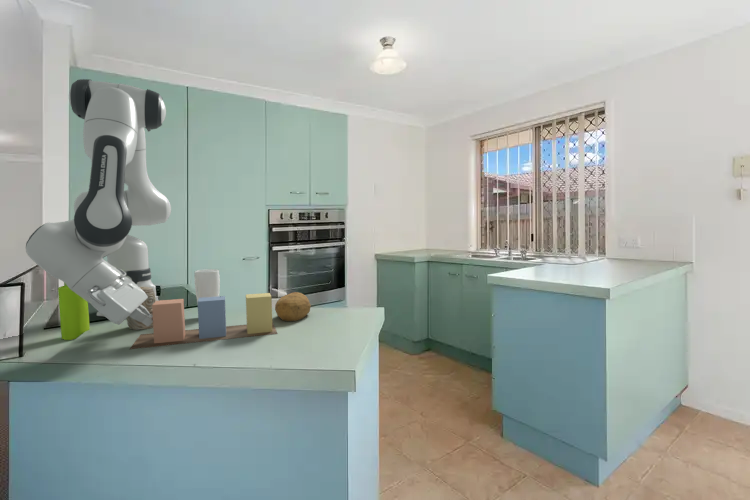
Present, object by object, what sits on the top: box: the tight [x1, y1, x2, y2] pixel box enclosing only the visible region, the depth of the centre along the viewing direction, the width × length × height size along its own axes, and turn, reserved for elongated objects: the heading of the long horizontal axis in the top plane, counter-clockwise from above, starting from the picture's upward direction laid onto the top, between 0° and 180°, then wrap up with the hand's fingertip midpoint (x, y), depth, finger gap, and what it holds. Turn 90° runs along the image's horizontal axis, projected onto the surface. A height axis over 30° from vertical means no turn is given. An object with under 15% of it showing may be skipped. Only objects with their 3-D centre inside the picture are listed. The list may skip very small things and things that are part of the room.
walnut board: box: [129, 321, 278, 350], centre depth 99 cm, size 12×32×2 cm, turn 110°
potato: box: [274, 291, 312, 322], centre depth 115 cm, size 10×14×8 cm
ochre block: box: [245, 292, 273, 334], centre depth 101 cm, size 5×6×9 cm
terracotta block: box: [152, 298, 186, 343], centre depth 95 cm, size 5×6×9 cm
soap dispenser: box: [57, 282, 91, 341], centre depth 102 cm, size 6×7×20 cm
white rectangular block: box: [194, 268, 221, 305], centre depth 117 cm, size 7×7×15 cm
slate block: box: [197, 295, 227, 339], centre depth 98 cm, size 5×6×9 cm
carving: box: [125, 287, 156, 331], centre depth 106 cm, size 6×8×12 cm
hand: (152, 322), depth 93 cm, fingers closed
